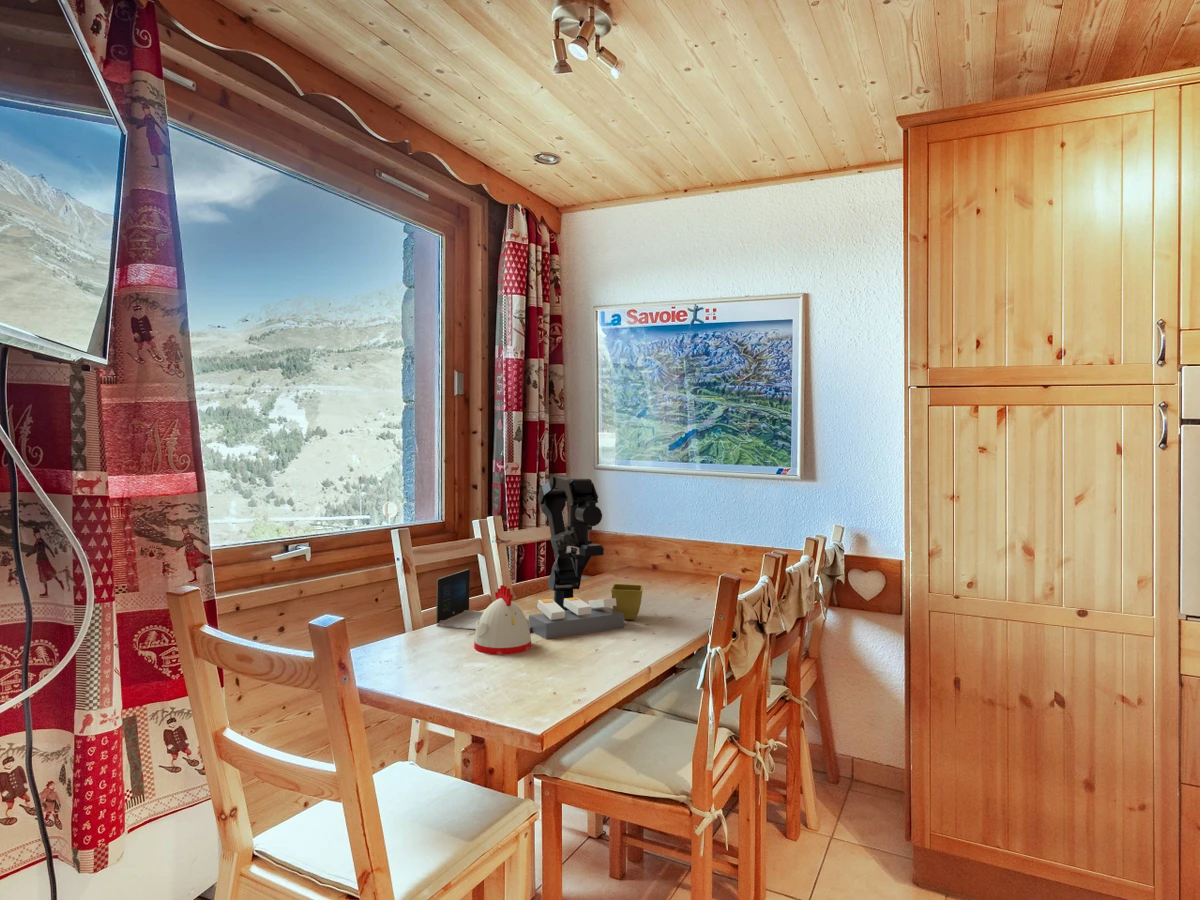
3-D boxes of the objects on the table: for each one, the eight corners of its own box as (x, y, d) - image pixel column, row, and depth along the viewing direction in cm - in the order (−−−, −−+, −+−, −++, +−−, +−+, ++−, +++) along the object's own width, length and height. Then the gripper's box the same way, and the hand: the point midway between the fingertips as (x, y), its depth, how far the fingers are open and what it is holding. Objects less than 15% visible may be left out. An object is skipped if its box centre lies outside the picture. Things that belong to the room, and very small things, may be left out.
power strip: (508, 632, 189) (508, 617, 189) (604, 619, 205) (604, 605, 205) (524, 642, 180) (525, 626, 180) (624, 627, 196) (624, 613, 196)
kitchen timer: (488, 658, 167) (489, 593, 166) (464, 643, 178) (466, 583, 178) (541, 649, 174) (542, 587, 174) (515, 636, 186) (516, 578, 186)
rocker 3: (589, 607, 200) (588, 600, 201) (601, 606, 202) (600, 598, 203) (604, 607, 194) (603, 598, 194) (616, 605, 196) (615, 597, 196)
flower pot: (642, 615, 211) (643, 584, 211) (641, 622, 203) (642, 590, 203) (612, 613, 212) (613, 583, 212) (610, 621, 204) (610, 589, 203)
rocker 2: (563, 605, 196) (564, 598, 196) (576, 604, 198) (576, 596, 198) (577, 615, 190) (578, 607, 189) (590, 613, 192) (591, 605, 192)
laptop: (476, 631, 191) (477, 582, 190) (435, 627, 194) (436, 579, 194) (506, 616, 208) (507, 571, 208) (468, 612, 212) (468, 568, 211)
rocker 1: (537, 607, 192) (538, 599, 192) (550, 605, 194) (551, 598, 194) (550, 620, 186) (551, 612, 185) (564, 618, 188) (565, 610, 187)
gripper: (539, 520, 209) (538, 573, 209) (570, 527, 193) (569, 585, 193) (572, 518, 215) (571, 570, 215) (605, 525, 199) (604, 581, 199)
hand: (578, 576), depth 206 cm, fingers closed
